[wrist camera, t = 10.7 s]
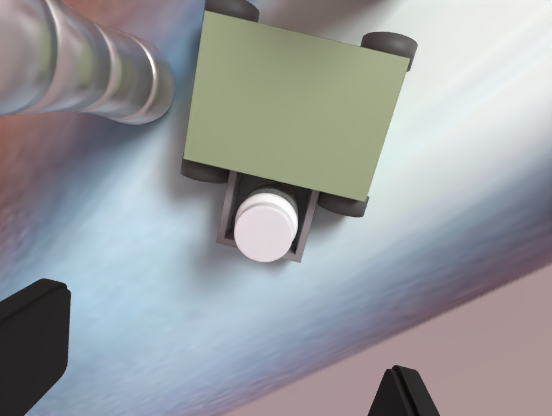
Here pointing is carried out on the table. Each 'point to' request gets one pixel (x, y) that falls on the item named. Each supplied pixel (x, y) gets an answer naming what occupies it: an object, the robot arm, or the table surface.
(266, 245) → the pill bottle
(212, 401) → the table surface
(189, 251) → the table surface
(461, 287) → the table surface
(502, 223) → the table surface
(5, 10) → the metal bottle
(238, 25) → the cart
